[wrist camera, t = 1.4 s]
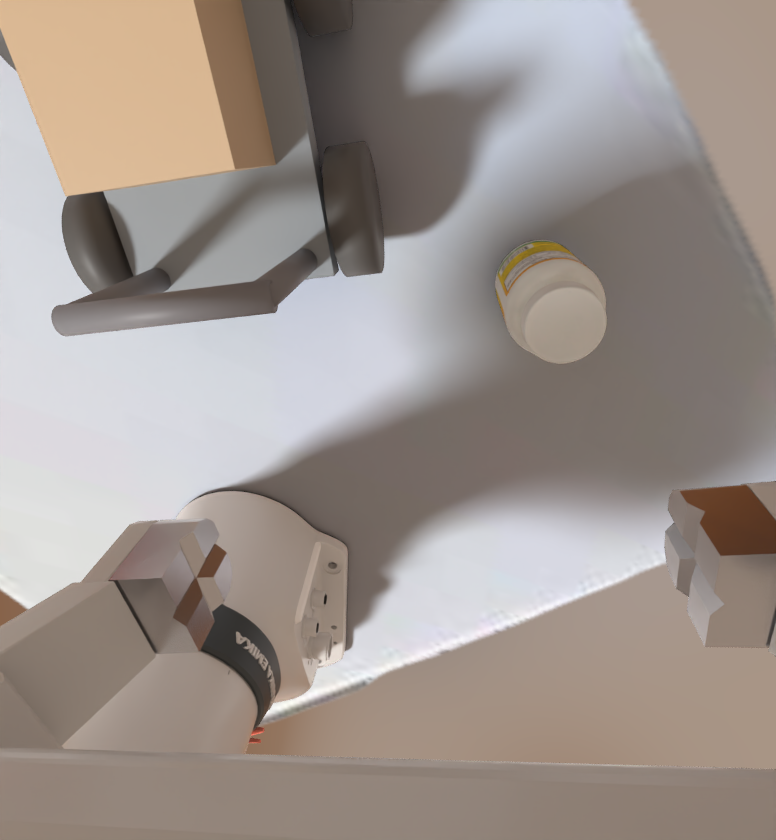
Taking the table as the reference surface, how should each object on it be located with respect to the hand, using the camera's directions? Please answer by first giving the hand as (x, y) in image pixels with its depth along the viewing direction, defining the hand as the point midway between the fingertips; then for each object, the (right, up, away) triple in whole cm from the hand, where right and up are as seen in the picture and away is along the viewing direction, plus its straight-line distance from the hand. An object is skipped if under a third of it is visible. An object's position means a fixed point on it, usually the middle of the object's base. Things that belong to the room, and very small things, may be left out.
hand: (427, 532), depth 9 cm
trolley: (-10, +20, +22) cm, 32 cm away
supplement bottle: (+9, +11, +25) cm, 29 cm away
